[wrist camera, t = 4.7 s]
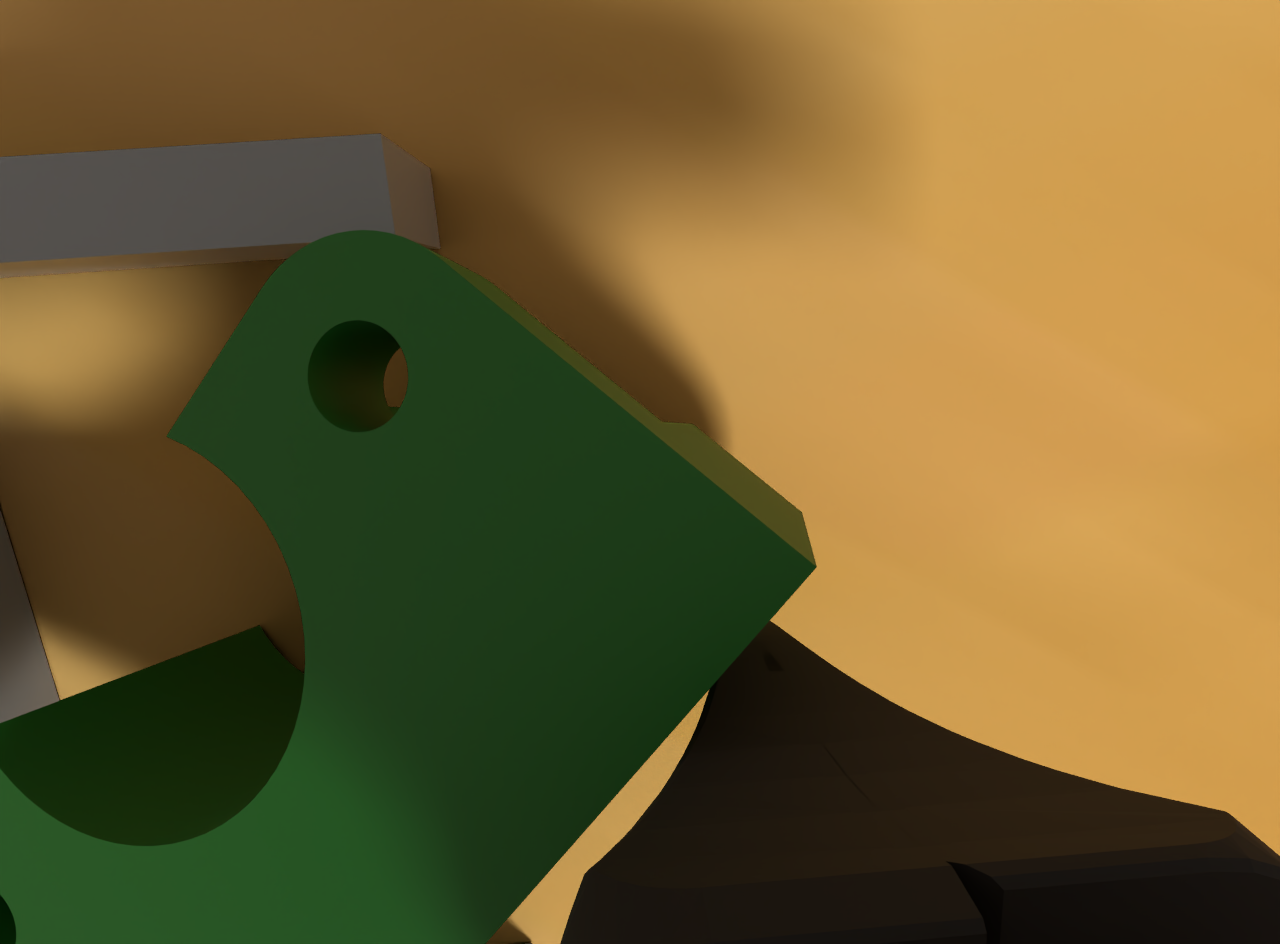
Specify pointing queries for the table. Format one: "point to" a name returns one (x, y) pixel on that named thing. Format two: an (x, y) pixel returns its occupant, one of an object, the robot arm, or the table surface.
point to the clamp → (399, 631)
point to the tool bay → (184, 254)
